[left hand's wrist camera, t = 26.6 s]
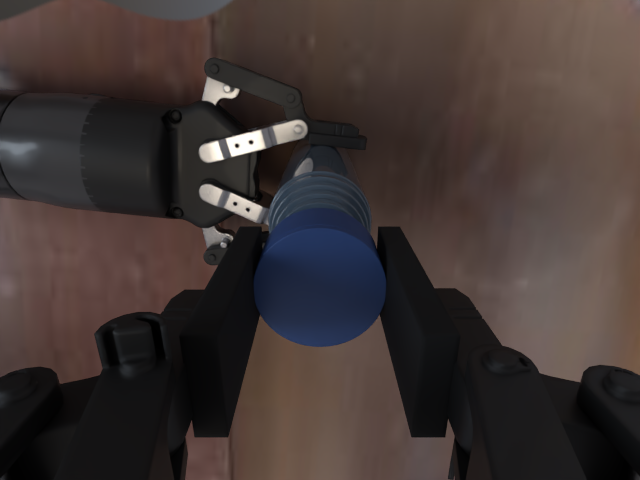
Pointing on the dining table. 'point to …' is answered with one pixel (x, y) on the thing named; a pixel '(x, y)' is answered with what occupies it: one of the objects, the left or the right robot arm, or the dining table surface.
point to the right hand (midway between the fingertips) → (357, 182)
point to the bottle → (319, 185)
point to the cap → (319, 278)
